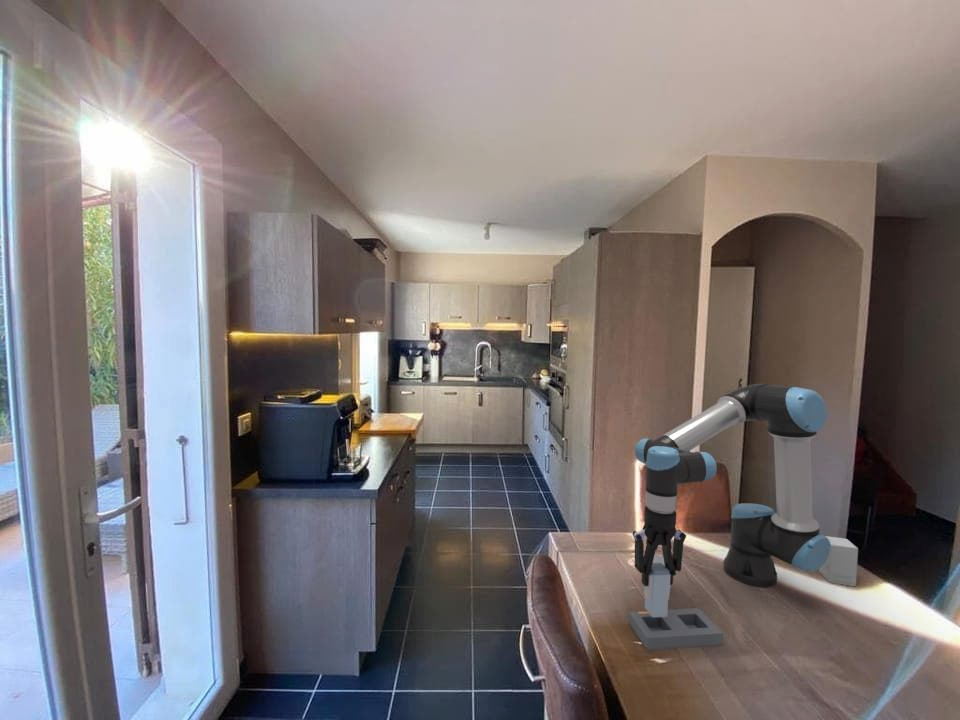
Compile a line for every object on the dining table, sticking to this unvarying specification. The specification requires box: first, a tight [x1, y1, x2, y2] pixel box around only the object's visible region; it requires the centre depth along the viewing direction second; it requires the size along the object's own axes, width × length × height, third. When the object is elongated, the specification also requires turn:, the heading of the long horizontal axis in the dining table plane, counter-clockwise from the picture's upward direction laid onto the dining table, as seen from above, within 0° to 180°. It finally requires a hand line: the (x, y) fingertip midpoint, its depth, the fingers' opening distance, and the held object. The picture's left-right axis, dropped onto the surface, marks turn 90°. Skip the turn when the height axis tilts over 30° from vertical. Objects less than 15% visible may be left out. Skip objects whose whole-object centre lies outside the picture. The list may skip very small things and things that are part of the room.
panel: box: [628, 607, 724, 651], centre depth 111 cm, size 20×10×4 cm, turn 96°
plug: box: [644, 563, 669, 617], centre depth 110 cm, size 4×4×12 cm
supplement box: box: [818, 535, 859, 587], centre depth 139 cm, size 7×7×13 cm
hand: (656, 596), depth 110 cm, fingers closed on plug, 4 cm apart
